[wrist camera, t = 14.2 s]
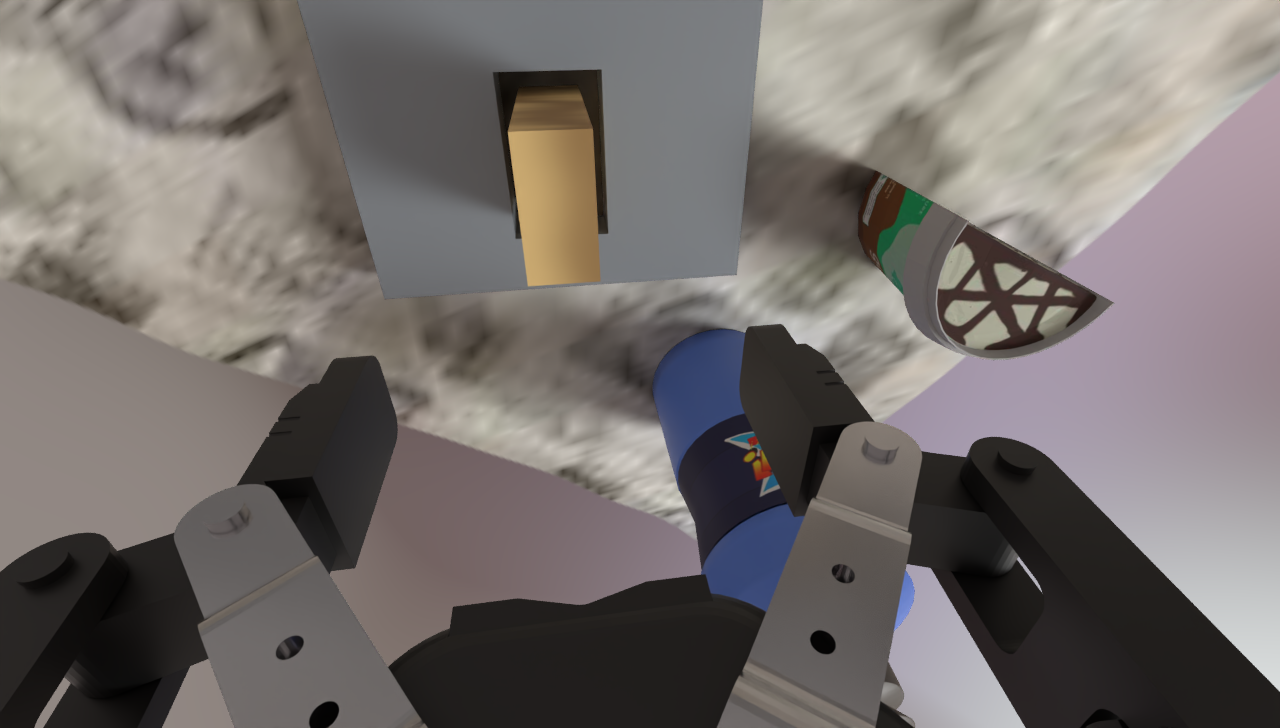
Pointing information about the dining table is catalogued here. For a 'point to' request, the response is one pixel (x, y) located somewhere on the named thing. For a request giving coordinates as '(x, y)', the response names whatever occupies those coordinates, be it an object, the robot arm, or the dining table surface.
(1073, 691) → the robot arm
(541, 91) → the keyed peg
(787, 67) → the dining table surface
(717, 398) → the water bottle
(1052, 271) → the food container
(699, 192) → the keyed plate
